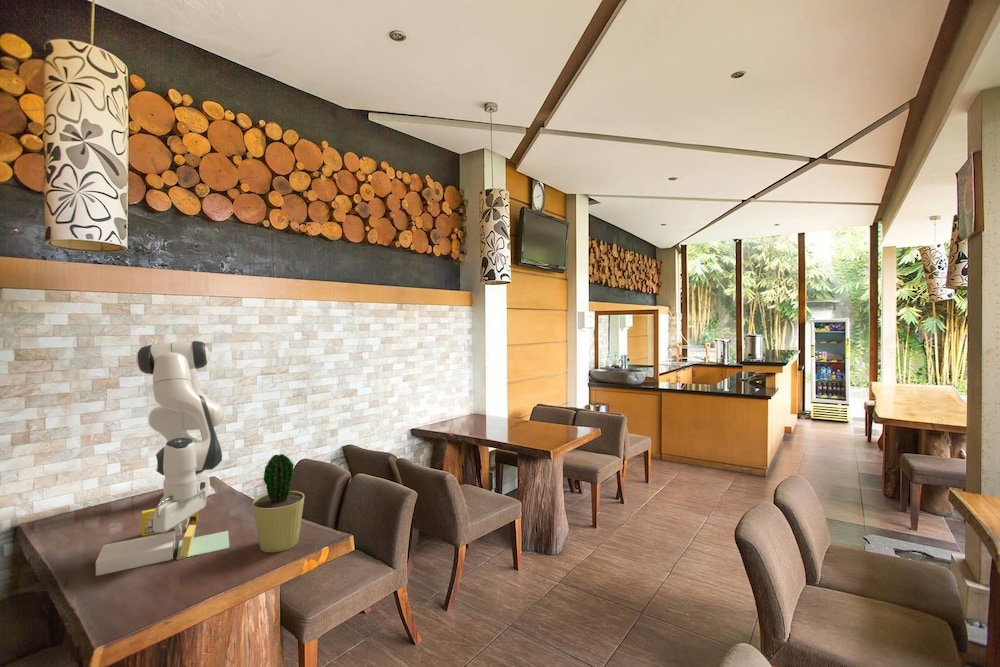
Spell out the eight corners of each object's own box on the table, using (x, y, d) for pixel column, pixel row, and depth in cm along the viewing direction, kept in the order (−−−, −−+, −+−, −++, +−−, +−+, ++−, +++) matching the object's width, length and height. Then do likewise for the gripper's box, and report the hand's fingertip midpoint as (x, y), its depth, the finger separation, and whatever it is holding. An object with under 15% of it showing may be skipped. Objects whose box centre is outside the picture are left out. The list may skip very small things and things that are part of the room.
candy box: (142, 537, 158) (141, 512, 158) (141, 535, 160) (141, 510, 160) (198, 523, 169) (198, 500, 169) (197, 521, 171) (197, 498, 171)
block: (189, 524, 153) (196, 525, 153) (185, 543, 152) (192, 543, 153) (183, 536, 144) (191, 536, 145) (179, 556, 144) (187, 556, 145)
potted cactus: (250, 559, 144) (248, 462, 143) (255, 537, 158) (254, 449, 157) (304, 550, 149) (303, 456, 149) (305, 530, 164) (304, 444, 163)
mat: (179, 541, 155) (179, 540, 155) (228, 531, 162) (228, 530, 162) (176, 559, 143) (176, 558, 143) (229, 548, 151) (229, 547, 151)
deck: (104, 557, 144) (103, 544, 144) (175, 543, 154) (175, 531, 154) (95, 575, 134) (95, 562, 134) (172, 559, 144) (172, 546, 143)
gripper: (167, 503, 139) (168, 549, 139) (210, 479, 159) (210, 520, 160) (146, 503, 139) (146, 549, 139) (191, 479, 159) (192, 520, 160)
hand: (181, 533), depth 150 cm, fingers closed
